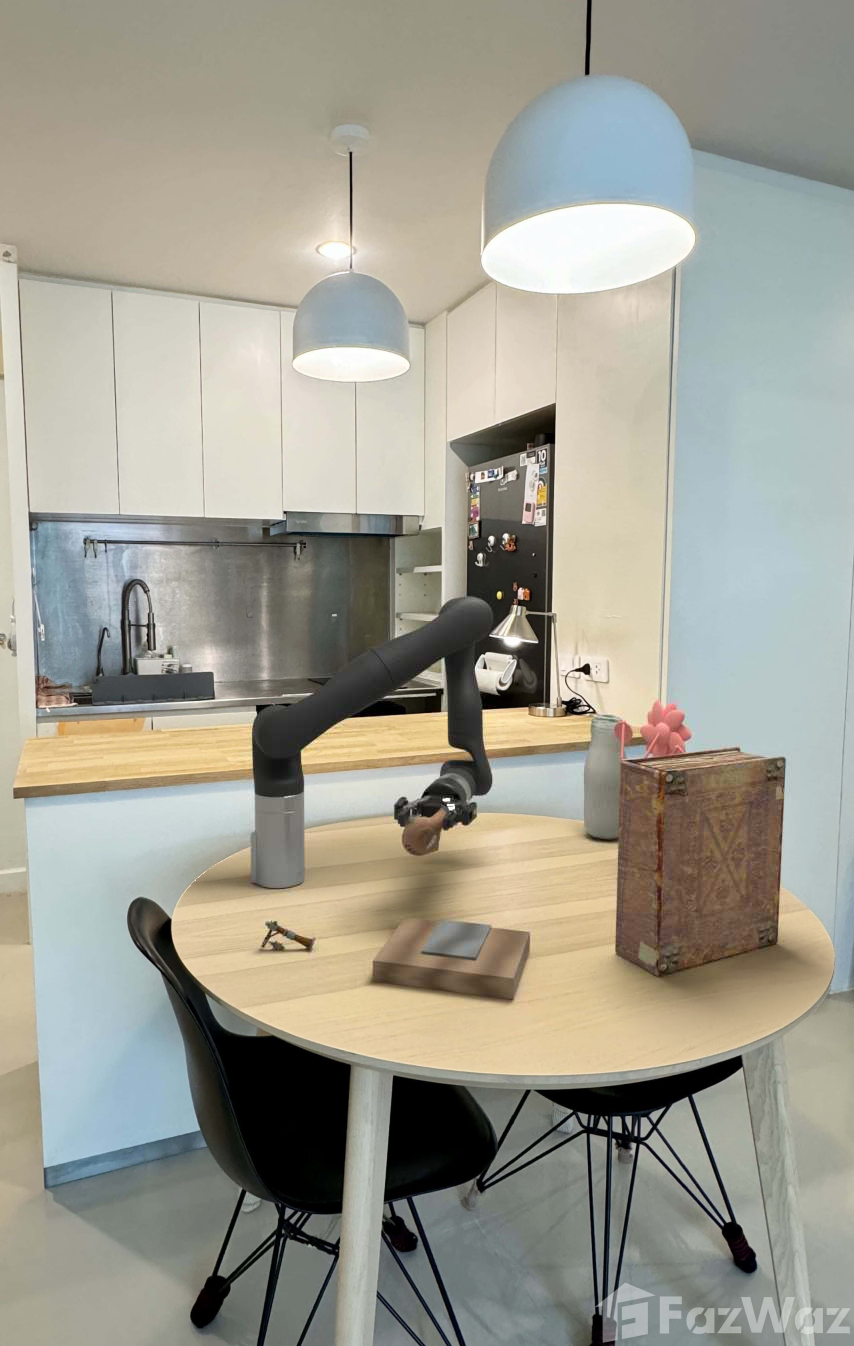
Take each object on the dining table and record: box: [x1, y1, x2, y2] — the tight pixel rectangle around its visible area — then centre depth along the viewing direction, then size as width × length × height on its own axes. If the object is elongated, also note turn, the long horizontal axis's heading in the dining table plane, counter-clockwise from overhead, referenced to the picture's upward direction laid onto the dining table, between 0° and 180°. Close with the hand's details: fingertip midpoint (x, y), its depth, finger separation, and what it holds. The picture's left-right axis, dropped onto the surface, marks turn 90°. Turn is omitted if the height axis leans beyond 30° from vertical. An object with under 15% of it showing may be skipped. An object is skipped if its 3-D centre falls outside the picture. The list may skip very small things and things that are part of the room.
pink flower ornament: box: [614, 699, 692, 761], centre depth 156 cm, size 15×26×35 cm, turn 25°
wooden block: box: [372, 917, 531, 1001], centre depth 122 cm, size 20×16×3 cm
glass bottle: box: [583, 714, 628, 840], centre depth 185 cm, size 10×10×28 cm
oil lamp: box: [401, 805, 450, 857], centre depth 136 cm, size 9×4×8 cm, turn 117°
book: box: [614, 746, 787, 978], centre depth 127 cm, size 25×9×30 cm, turn 118°
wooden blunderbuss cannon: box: [260, 920, 317, 952], centre depth 127 cm, size 2×8×4 cm, turn 91°
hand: (423, 822), depth 134 cm, fingers closed on oil lamp, 6 cm apart
